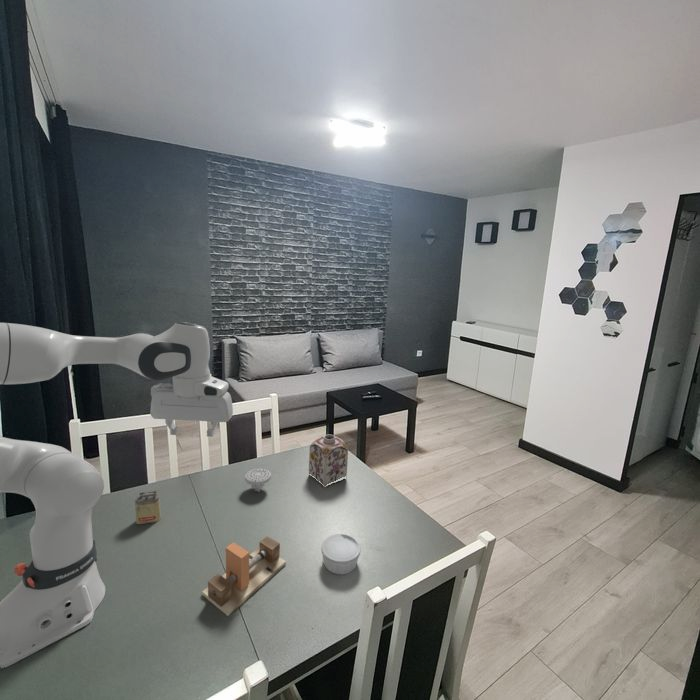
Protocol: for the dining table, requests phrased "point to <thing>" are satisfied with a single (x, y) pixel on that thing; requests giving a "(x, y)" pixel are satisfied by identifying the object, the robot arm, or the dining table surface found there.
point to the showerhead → (257, 478)
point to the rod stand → (260, 571)
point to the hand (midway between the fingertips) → (192, 435)
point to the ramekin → (340, 553)
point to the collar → (237, 565)
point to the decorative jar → (328, 459)
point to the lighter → (147, 508)
